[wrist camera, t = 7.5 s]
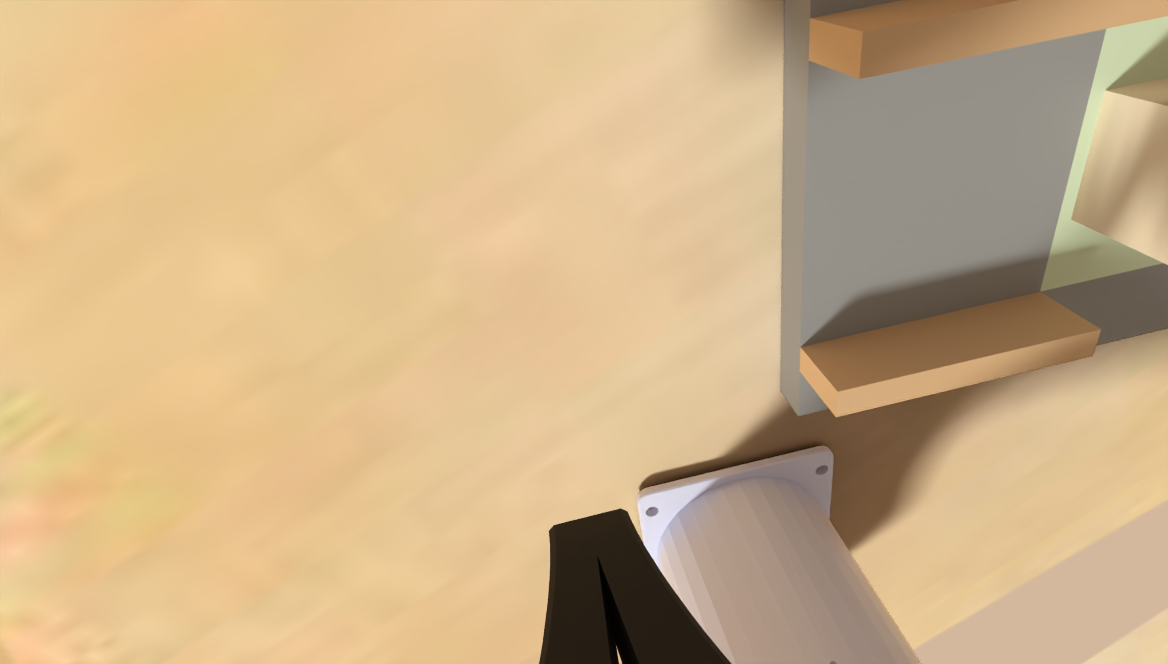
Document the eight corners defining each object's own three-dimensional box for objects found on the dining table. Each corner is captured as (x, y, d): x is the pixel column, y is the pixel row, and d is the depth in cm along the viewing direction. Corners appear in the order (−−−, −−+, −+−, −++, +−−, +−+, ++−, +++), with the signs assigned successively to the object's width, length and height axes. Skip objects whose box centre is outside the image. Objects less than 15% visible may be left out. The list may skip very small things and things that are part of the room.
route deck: (1266, 276, 26) (1388, 329, 23) (780, 391, 25) (832, 464, 21) (1489, -207, 18) (1728, -238, 15) (785, -75, 17) (869, -76, 13)
